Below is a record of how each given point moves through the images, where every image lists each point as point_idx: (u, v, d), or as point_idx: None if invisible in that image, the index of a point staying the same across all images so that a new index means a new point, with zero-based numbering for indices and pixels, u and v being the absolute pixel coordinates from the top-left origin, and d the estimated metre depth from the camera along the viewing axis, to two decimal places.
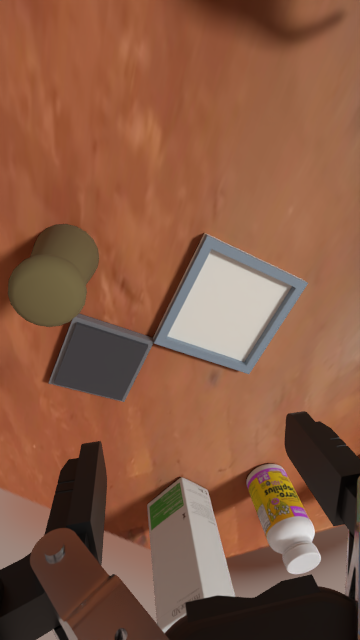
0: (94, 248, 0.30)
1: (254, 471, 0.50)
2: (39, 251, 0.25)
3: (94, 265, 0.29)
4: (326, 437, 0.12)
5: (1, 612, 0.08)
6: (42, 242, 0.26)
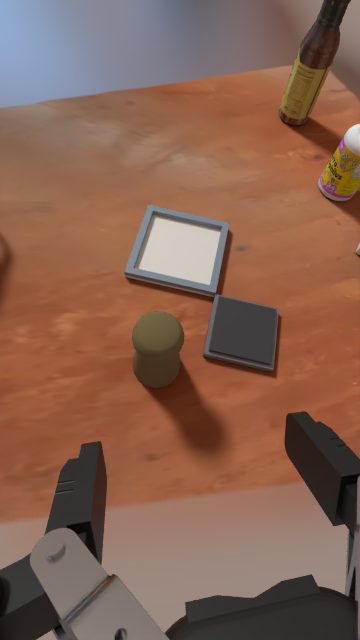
0: None
1: (330, 197, 0.55)
2: (140, 360, 0.34)
3: None
4: (326, 437, 0.12)
5: (1, 612, 0.08)
6: (139, 367, 0.36)
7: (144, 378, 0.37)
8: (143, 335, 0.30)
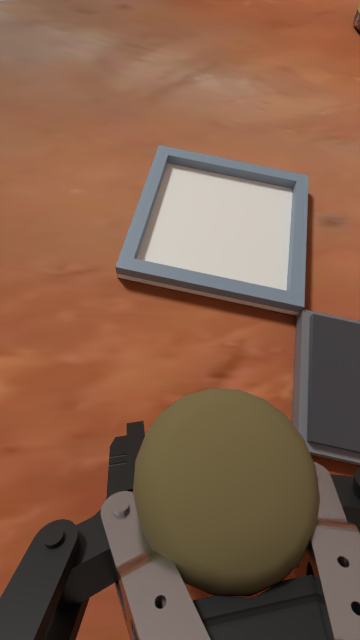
0: None
1: None
2: None
3: None
4: None
5: (75, 568, 0.08)
6: None
7: None
8: (178, 507, 0.07)
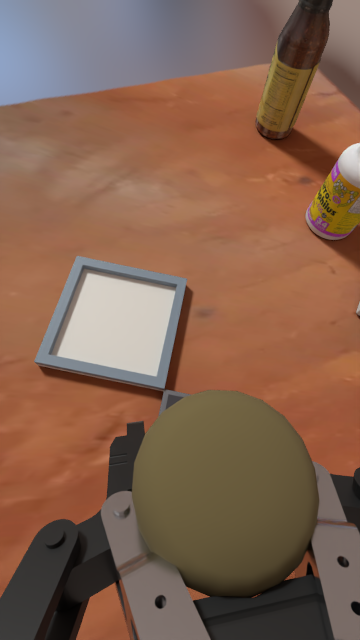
0: None
1: (321, 235, 0.42)
2: None
3: None
4: None
5: (75, 568, 0.08)
6: None
7: None
8: (177, 510, 0.07)
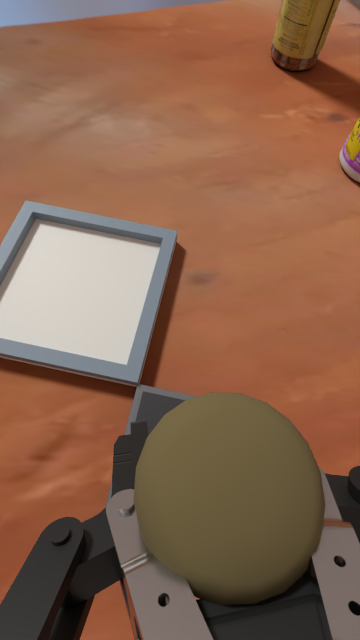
0: None
1: None
2: None
3: None
4: None
5: (80, 565, 0.08)
6: None
7: None
8: (180, 516, 0.07)
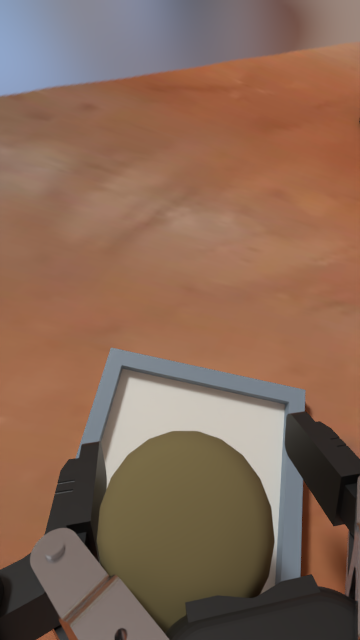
0: None
1: None
2: None
3: None
4: (326, 437, 0.12)
5: (1, 612, 0.08)
6: None
7: None
8: (128, 558, 0.08)
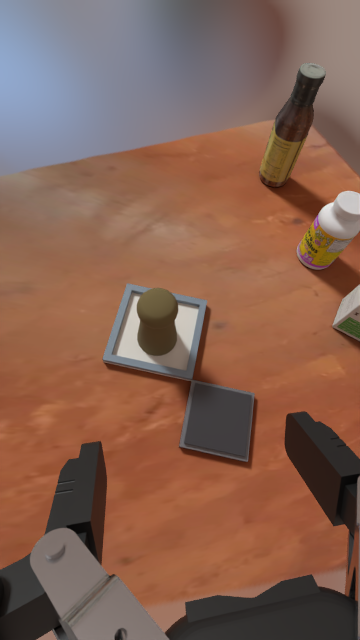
0: None
1: (308, 266, 0.56)
2: (144, 330, 0.42)
3: None
4: (326, 437, 0.12)
5: (1, 612, 0.08)
6: (143, 337, 0.44)
7: (148, 347, 0.45)
8: (145, 306, 0.38)
